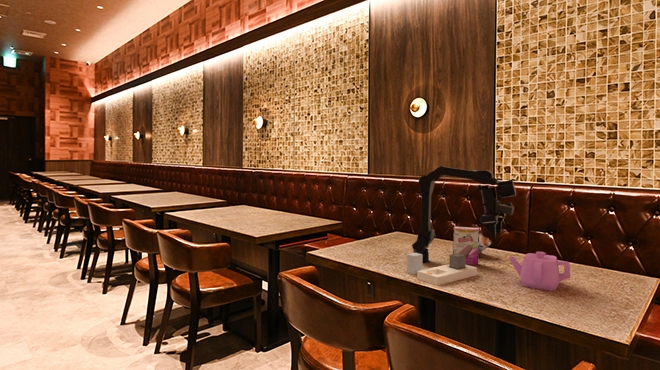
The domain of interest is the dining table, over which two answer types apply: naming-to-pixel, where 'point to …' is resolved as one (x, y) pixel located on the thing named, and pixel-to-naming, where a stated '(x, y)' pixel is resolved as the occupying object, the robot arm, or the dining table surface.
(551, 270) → the teakettle
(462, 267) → the twin plug
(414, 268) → the plug
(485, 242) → the lucky cat figurine
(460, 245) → the candy bar box
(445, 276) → the power strip
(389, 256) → the dining table surface
